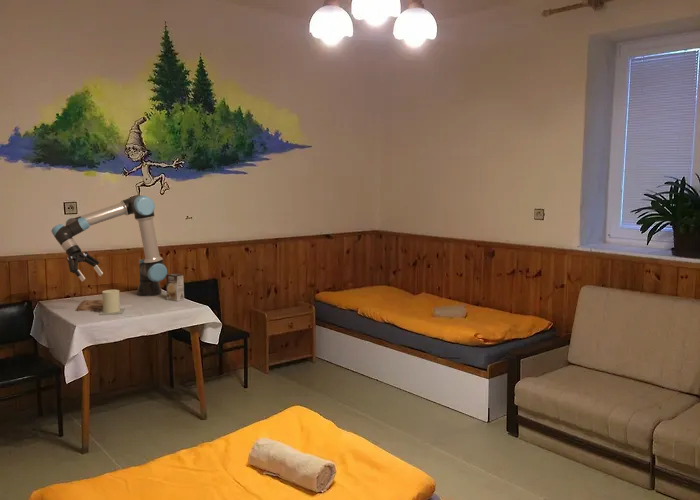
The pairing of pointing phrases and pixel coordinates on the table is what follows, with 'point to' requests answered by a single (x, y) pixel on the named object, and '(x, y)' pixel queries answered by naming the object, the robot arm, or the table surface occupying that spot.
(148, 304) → the table surface
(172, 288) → the coffee box
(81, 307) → the puzzle board
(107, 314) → the mat
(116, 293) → the can
